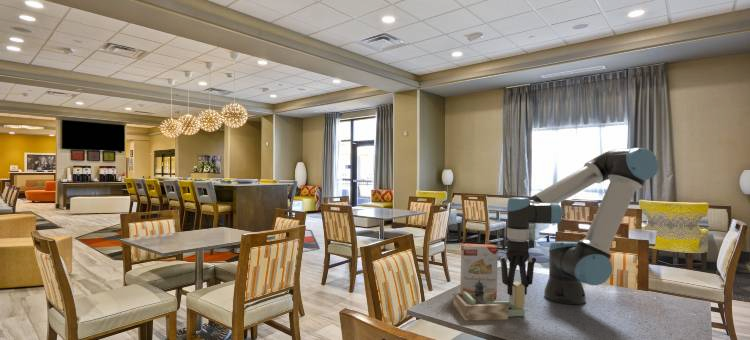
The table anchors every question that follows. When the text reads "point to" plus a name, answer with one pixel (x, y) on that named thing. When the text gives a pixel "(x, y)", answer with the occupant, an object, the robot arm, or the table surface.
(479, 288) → the chess piece
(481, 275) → the cracker box
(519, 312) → the tray
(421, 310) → the table surface
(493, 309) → the frame
